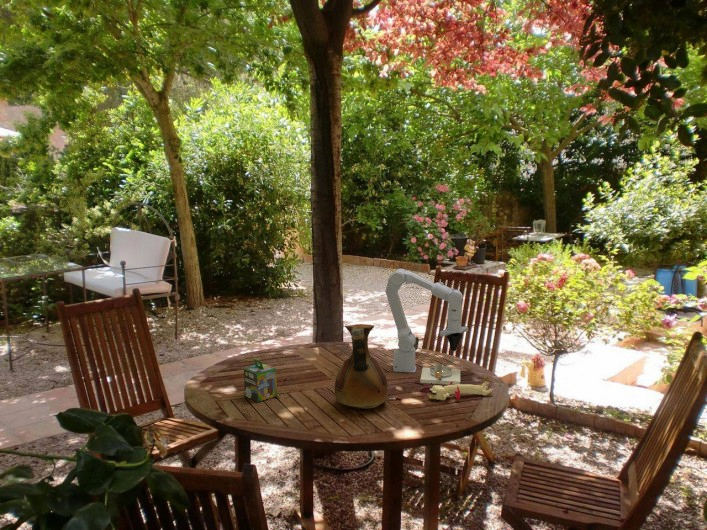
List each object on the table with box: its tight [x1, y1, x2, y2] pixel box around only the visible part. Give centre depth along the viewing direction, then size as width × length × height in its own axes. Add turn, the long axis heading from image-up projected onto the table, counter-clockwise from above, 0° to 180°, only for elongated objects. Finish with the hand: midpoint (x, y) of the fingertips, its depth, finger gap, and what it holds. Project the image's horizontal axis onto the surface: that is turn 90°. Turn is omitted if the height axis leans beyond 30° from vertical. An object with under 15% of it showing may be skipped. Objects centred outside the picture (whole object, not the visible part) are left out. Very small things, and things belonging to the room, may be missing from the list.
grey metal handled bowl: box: [429, 364, 453, 379], centre depth 248 cm, size 18×9×5 cm, turn 166°
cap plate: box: [419, 366, 461, 385], centre depth 253 cm, size 16×16×2 cm
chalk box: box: [243, 358, 278, 403], centre depth 229 cm, size 9×9×15 cm
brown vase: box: [334, 323, 389, 409], centre depth 221 cm, size 20×20×30 cm
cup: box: [414, 336, 420, 352], centre depth 286 cm, size 8×7×8 cm
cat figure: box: [427, 375, 493, 401], centre depth 230 cm, size 10×9×25 cm
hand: (453, 350), depth 257 cm, fingers closed
